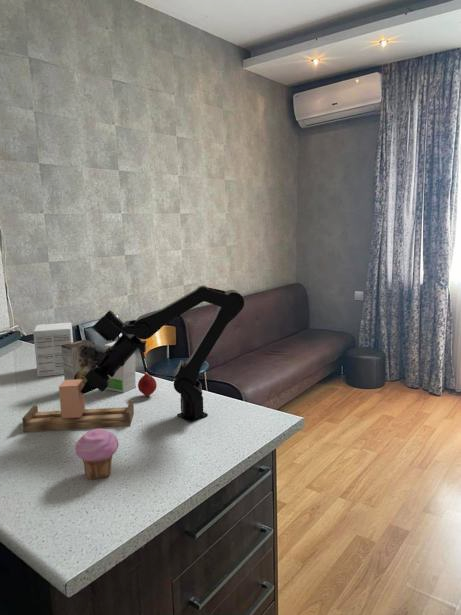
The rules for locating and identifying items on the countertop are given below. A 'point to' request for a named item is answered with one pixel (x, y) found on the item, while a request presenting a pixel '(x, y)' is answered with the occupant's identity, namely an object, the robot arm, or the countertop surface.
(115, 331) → the robot arm
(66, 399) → the block
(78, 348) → the coffee box
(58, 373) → the supplement box
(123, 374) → the skincare box
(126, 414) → the wooden slide track
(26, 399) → the countertop surface
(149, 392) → the onion
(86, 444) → the cupcake
